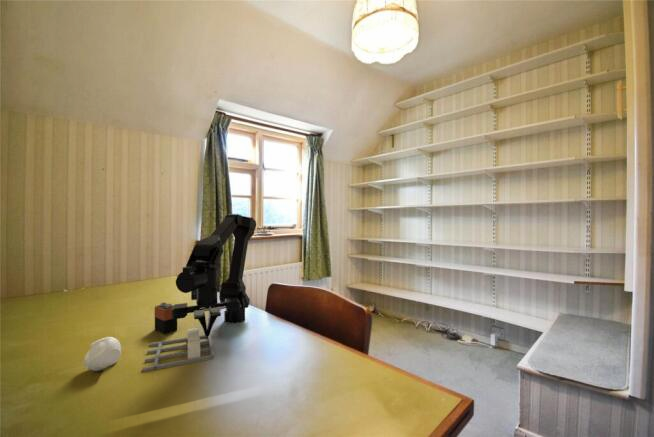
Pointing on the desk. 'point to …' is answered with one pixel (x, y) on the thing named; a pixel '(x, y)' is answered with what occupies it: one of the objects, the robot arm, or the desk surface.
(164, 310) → the battery
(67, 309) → the desk surface
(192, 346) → the cream block
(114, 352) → the white rounded piece
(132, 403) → the desk surface
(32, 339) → the desk surface
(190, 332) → the cream squarish block
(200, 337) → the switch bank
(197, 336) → the beige squarish block
